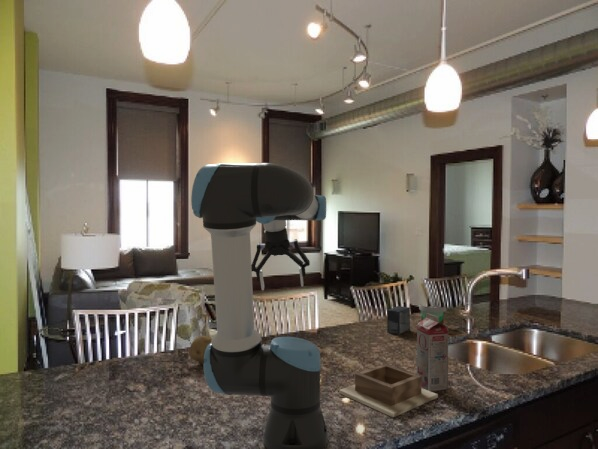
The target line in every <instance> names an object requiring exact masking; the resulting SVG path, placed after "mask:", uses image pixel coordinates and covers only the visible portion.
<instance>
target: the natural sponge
mask: <svg viewBox="0 0 598 449" xmlns="http://www.w3.org/2000/svg"><path fill="white" fill-rule="evenodd" d="M212 338H213V337H210V336H207V335H200V336H198V337H196V338H195V339H194V340H193V341H192V342H191V343H190V347H189V350H188V355H189V357H190V358H191V359H192V360H193V361H196V362H198V363H199V364H201V365H204V354H205V350H206V348H207V346H208V345H209V344H210V343H211V340H212Z"/></svg>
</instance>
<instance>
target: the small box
mask: <svg viewBox="0 0 598 449" xmlns="http://www.w3.org/2000/svg"><path fill="white" fill-rule="evenodd" d="M410 309H411V308H410V307H409V306H400V305H398V306H394V307H392V308H389V309H386V312H387V313H386V317H387V318H386V319H387V321H386V324H387V326H386V327H387V328H386V330H387V331H386V333H387V334H392V335H398V336H400V335H403V334H406V333H407V332H409V331H410V330H411V320H410V319H411V313H410V312H411V310H410Z"/></svg>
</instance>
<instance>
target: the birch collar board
mask: <svg viewBox="0 0 598 449" xmlns="http://www.w3.org/2000/svg"><path fill="white" fill-rule="evenodd" d="M354 377H355V378H354V384H352V385H349V386H346V387H343V388H341V389H339V391H338V392H339V394H340V395H342V396H345V397H347V398H349V399H351V400H354V401H355V402H358V403H360V404H363V405H364V406H367V407H369V408H372V409H373V410H375V411H378V412H380V413H382V414H384V415H387V416H389V417H391V418H395V417H398V416H400V415H402V414H404V413H406V412H409V411H411V410H413V409H415V408H418V407H420V406H422V405H424V404H426V403H429V402H431V401H432V400H435V399H437V398H438V397H439V396H438V395H439V394H438V393H435V391H428V390H426V389H424V388H423V387H422V376H419V375H417V373H413V372H410V371H407V370H405V369H401V368H398V367H396V366H392V365H390V364H387V363H383V364H380V365H378V366H373V367H371V368H368V369H365V370H362V371H359V372H355V374H354Z"/></svg>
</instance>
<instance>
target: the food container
mask: <svg viewBox="0 0 598 449" xmlns="http://www.w3.org/2000/svg"><path fill="white" fill-rule="evenodd" d="M418 309H419V310H420V318H421V321H422V320H424V319H425V318H426V313H429V314H431V315H434V316H436V317H439V323H440V324H442V325H444V321H445V315H446V314H445V313H446V312H447V307H446V306H443V307H438V306H434V305H433V306H431V305H430V306H424V305H422V304H419V307H418Z"/></svg>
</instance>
